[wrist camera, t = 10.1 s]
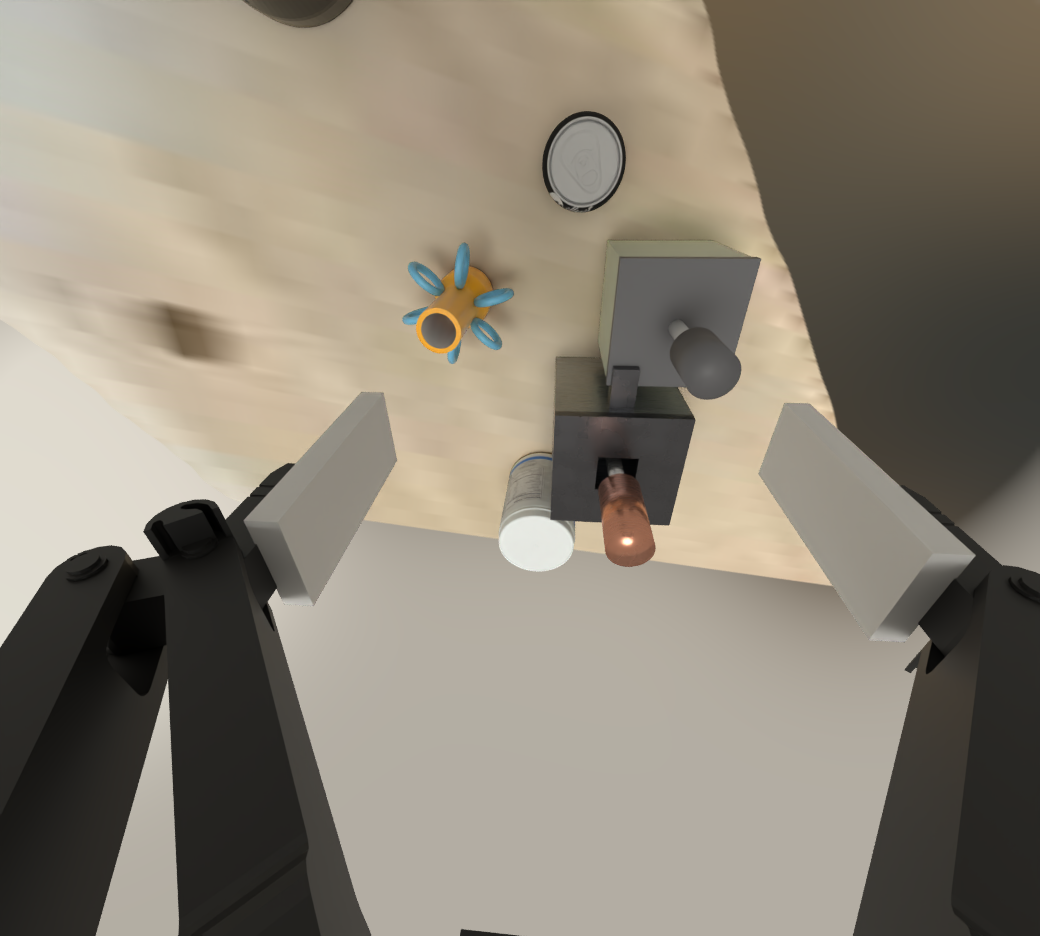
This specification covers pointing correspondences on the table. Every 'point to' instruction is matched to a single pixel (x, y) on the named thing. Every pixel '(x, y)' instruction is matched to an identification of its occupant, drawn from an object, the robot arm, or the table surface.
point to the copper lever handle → (624, 518)
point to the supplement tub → (533, 518)
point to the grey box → (615, 438)
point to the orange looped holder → (455, 306)
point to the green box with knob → (675, 312)
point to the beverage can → (584, 161)
